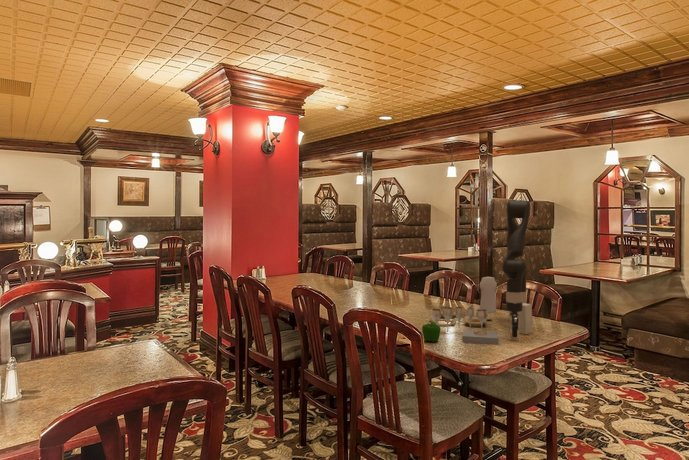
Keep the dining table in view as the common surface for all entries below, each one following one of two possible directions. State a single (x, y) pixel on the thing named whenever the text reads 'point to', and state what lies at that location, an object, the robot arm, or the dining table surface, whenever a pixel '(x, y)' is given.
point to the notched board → (480, 337)
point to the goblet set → (460, 315)
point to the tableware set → (474, 322)
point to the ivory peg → (511, 332)
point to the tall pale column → (488, 294)
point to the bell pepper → (431, 332)
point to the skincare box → (525, 319)
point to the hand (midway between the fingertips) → (514, 335)
